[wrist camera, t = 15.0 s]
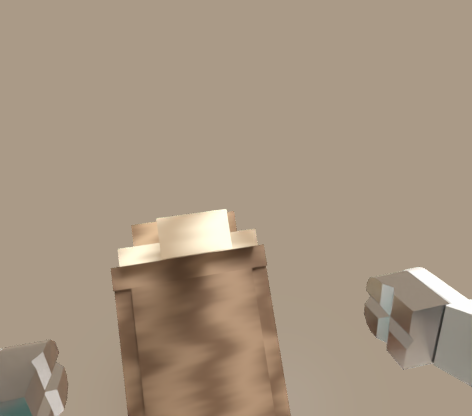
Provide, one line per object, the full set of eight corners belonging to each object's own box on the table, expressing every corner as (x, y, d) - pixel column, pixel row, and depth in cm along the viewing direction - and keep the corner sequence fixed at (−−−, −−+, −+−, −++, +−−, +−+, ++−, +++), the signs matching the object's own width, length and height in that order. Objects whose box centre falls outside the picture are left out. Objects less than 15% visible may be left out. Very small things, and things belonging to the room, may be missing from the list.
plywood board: (68, 273, 16) (58, 179, 16) (141, 263, 43) (137, 228, 43) (312, 235, 18) (296, 153, 18) (233, 249, 45) (228, 216, 46)
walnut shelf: (146, 599, 27) (110, 268, 30) (162, 454, 46) (139, 264, 49) (313, 544, 29) (263, 244, 32) (260, 429, 49) (233, 249, 52)
